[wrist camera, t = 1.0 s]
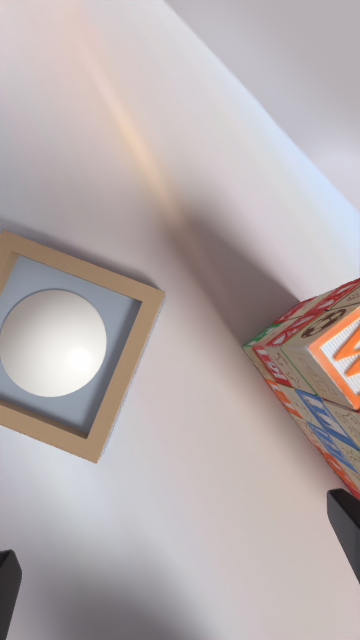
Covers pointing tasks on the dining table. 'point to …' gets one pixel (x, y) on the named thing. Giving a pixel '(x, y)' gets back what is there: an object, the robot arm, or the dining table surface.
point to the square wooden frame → (68, 344)
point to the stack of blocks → (319, 373)
